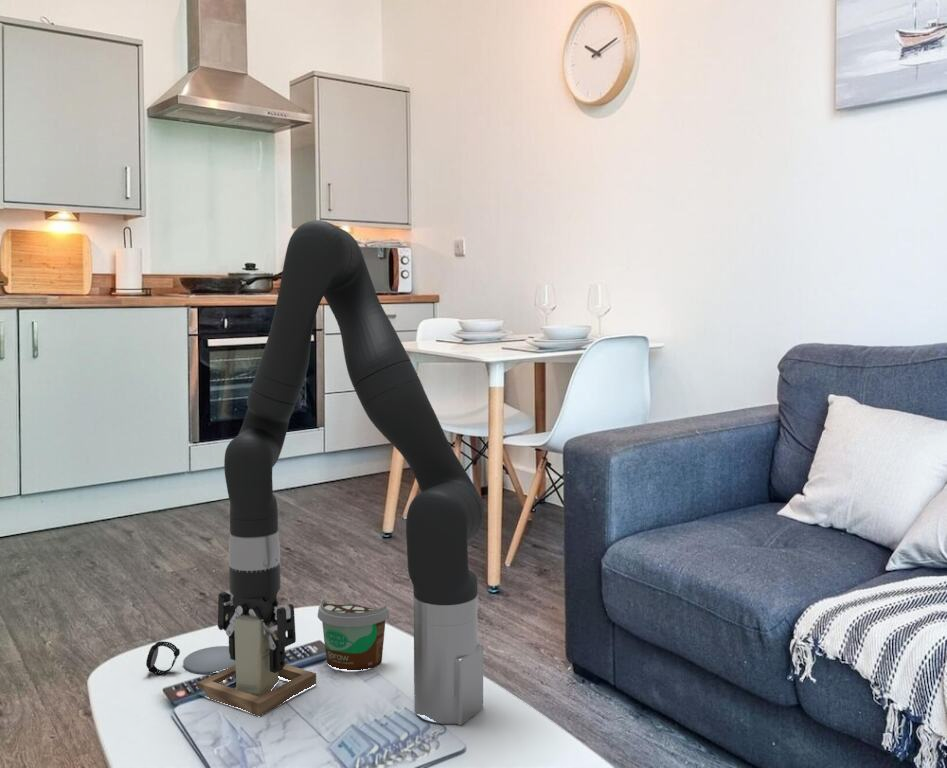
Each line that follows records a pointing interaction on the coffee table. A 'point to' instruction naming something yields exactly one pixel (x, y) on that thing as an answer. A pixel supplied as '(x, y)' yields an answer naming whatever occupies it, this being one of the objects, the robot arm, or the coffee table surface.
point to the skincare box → (252, 657)
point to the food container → (353, 635)
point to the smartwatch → (153, 656)
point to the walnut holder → (251, 702)
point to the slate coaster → (208, 660)
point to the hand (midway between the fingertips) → (256, 664)
